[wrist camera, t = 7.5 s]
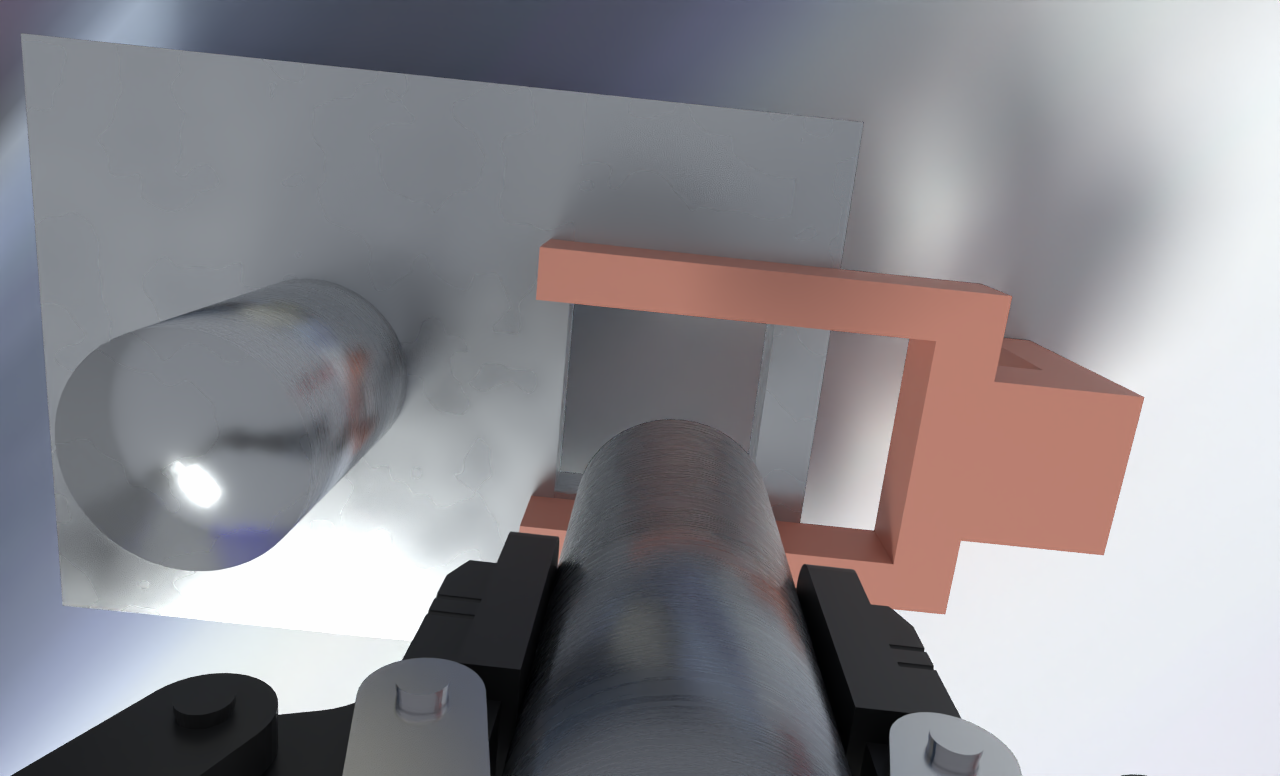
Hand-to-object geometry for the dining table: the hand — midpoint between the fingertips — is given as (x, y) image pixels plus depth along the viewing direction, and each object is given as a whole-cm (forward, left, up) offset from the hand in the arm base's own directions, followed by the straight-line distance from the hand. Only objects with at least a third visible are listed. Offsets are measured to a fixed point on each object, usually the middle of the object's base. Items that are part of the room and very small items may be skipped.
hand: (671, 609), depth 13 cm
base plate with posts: (-6, 0, -15) cm, 16 cm away
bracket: (+4, 0, -15) cm, 15 cm away
